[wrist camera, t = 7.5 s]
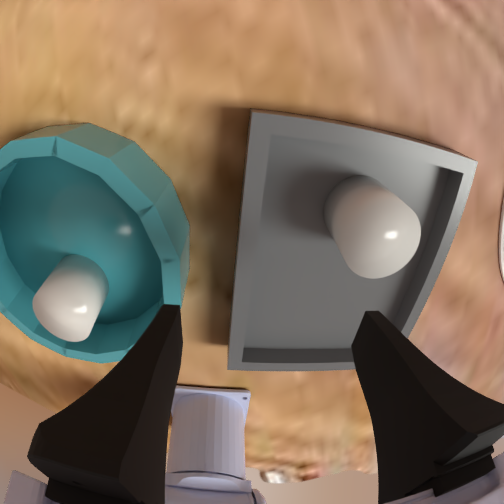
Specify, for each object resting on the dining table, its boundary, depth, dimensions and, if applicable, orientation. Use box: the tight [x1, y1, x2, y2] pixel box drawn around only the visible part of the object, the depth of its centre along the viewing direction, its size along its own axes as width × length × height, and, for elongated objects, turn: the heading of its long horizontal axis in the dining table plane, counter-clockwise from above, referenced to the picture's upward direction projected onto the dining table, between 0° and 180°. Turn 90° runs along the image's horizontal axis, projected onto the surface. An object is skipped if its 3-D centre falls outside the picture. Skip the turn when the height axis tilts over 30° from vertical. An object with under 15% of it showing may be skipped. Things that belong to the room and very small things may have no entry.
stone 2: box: [324, 175, 421, 279], centre depth 16 cm, size 4×4×4 cm
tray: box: [227, 108, 478, 371], centre depth 20 cm, size 18×14×2 cm
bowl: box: [0, 123, 190, 363], centre depth 18 cm, size 16×16×4 cm
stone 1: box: [32, 255, 109, 342], centre depth 18 cm, size 4×4×4 cm
